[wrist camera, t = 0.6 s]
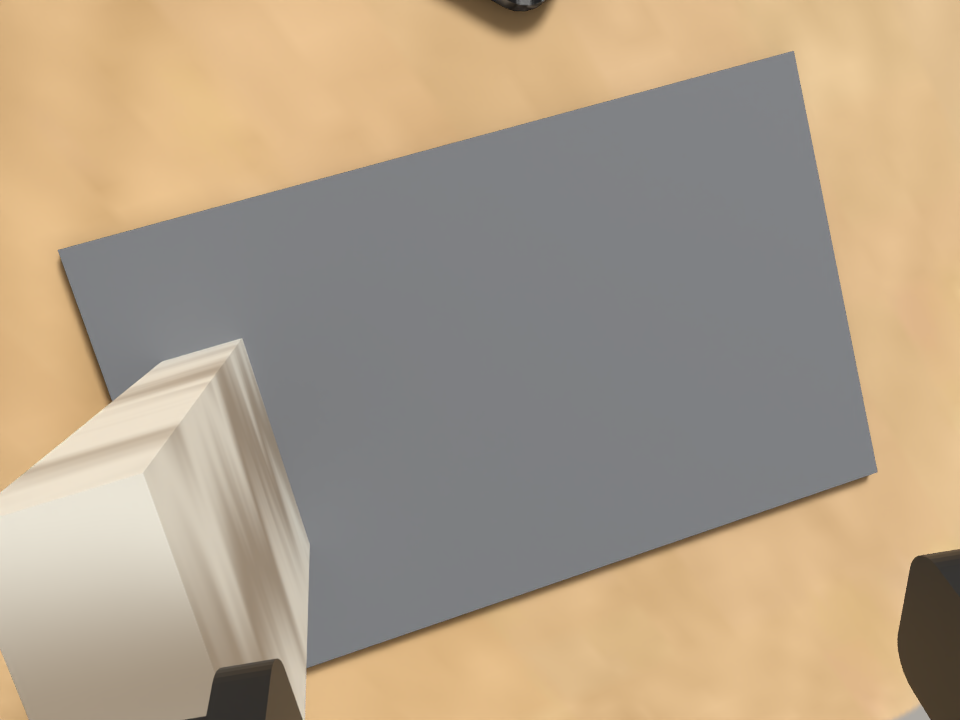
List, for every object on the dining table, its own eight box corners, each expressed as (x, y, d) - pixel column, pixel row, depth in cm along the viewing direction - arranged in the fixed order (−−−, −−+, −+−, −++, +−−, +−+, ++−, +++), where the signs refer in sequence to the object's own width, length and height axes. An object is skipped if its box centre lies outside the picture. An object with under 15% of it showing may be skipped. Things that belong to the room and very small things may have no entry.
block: (161, 361, 27) (-49, 531, 12) (241, 337, 28) (143, 473, 12) (233, 569, 29) (131, 972, 13) (309, 544, 29) (299, 908, 13)
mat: (61, 249, 27) (57, 250, 26) (787, 53, 30) (793, 50, 29) (220, 691, 29) (219, 698, 29) (870, 469, 33) (877, 472, 32)
